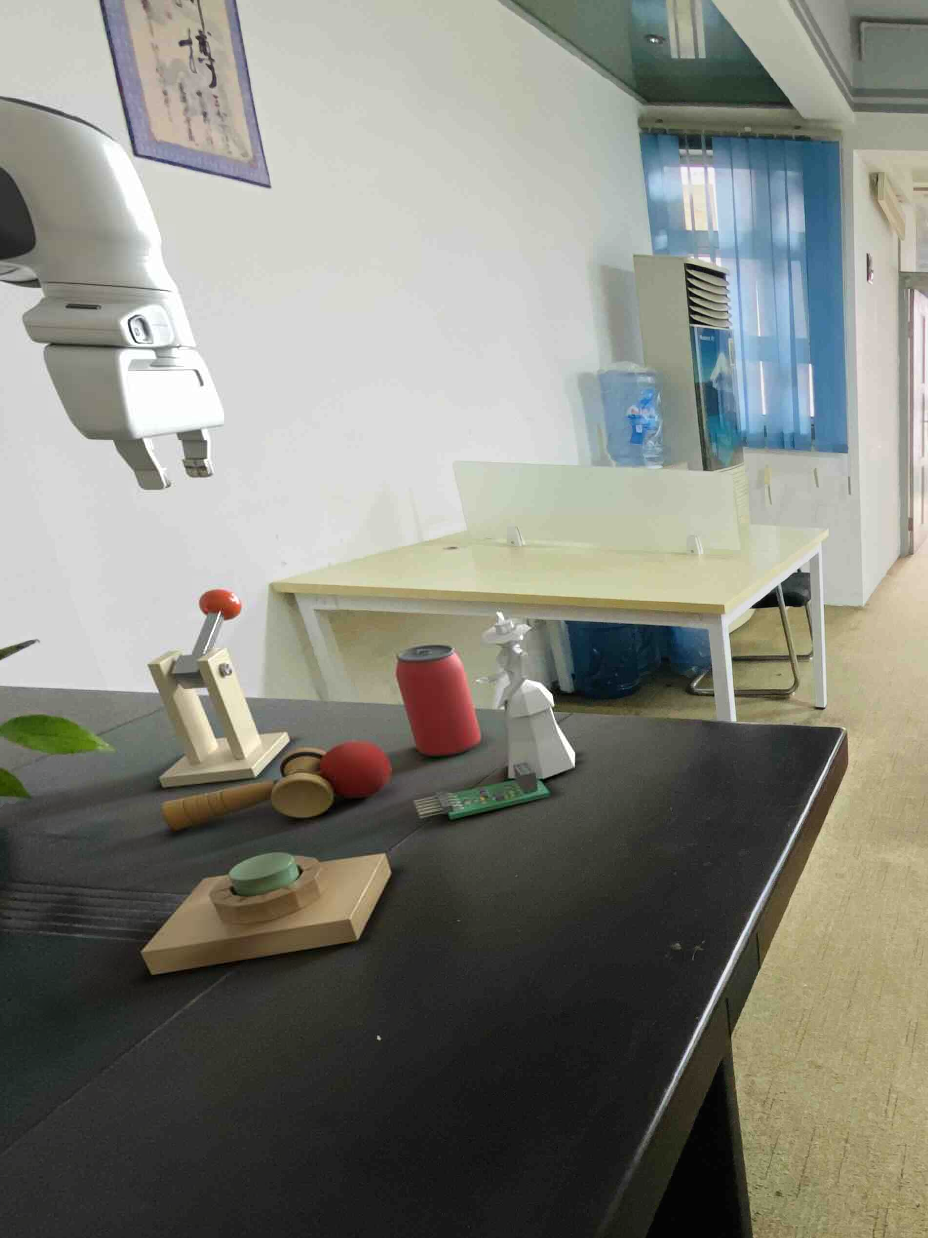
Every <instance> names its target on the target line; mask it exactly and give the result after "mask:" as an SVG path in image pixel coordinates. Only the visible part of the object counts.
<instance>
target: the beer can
mask: <svg viewBox="0 0 928 1238" xmlns="http://www.w3.org/2000/svg"><path fill="white" fill-rule="evenodd" d="M395 657H396V659H397V661H396V662H397V663H396V666H395V667H396V668H395V678H396V681H397V685H398V688H399V692H400V695H401V699H402V702H403V705H404V709H405V713H406V716H407V720H408V723H409V726H410V730H411V733H412V737H413V741H414V744H415V747H416V750H417V751H418V752H419V753H421V754H422V755H425V756H429V757H449V756H456V755H458V754H462V753H465V752H468V751H470V750H472V749H473V748H476V746H478V744H479V743H480V742H481V739H482V735H481V731H480V727H479V722H478V718H477V714H476V711H475V706H474V703H473V698H472V694H471V690H470V686H469V683H468V679H467V674H466V670H465V665H464V664H463V661H462V660H461V659H460V657H459V656H458V655H457V653H456V652H455V648H454V647H453V646H451V645H446V644H426V645H425V644H423V645H419V646H413V647H409V648H405V649H403V650H401V651H400V652H398V653H397V654H396V656H395Z"/></svg>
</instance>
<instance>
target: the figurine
mask: <svg viewBox="0 0 928 1238" xmlns="http://www.w3.org/2000/svg"><path fill="white" fill-rule="evenodd" d="M493 620H494V621H493V624H494V626H493V627H492V626H491V627H490V628H488V629H487V630H486V631H484V632H483V633H482V634H481V635H480V637H481V639H482V641H483V643H484V644H492V645H496V646H500V647H501V648H502V649H500V651H499V652H498V654H497V656H496V658H495V660H496V662H497V663H498V664H499V668H500V669H502V670H501V671H500V672H497V673H495V674H493V675H490V676H489V677H482V676H481V678H480V679H475V682H476V683H479V684H484V683H489V684H491V683H492V682H495V681H497V680H499V679H502V678H504V677H506V676H508V680H509V682H510V683H509V684H508V685H507V686H506V687H504V688H503V691H502V694H501V697H500V700H499V703H498V706H497V709H496V712H495V714H497V713H498V711H499V710H500V709H501V708H502V707H504V714H505V720H506V726H507V731H508V732H507V734H508V761H507V763H508V765H507V766H508V767H507V768H508V770H507V771H508V776H507V777H508V778H507V779H516V778H515V772H514V766H513V765H516V764H521V763H526V762H528V764H529V765H530V766H531V767H532V769H533V770H534V771H535V773H536V779H539V780H541V779H542V780H544V779H546V778H549V777H552V776H554V775H558V774H560V773H562V772H565V771H569V770H571V769H573V768H575V766H576V765H575V763H576V752H575V751H574V749H573V748H572V746H571V744H570V742H569V741H568V739H567V738H566V736H565V735H564V733H563V732H562V730H561V728H560V726H559V725H558V723H557V721H556V718H555V715H554V711H553V709H552V708H554V707H555V703H554V697H553V694H552V693H551V692H550V691H549V690H548V689H547V688H546V687H545V686H544V685H543V684H542V683H541V682H537V681H533V680H529V679H527V669H528V664H529V657H530V654H529V653H528V652H526V651H525V650H523V649H521V648H520V647H521V645H520V643H521V642H522V641H523V638H524V634H526V633H527V632H529V631H530V630H531V629H532V627H531V626H530V625H527V624H526V623H523V624H519V622H517V623H516V624H515V625H513V621H512V619H505V617H504V615H503V613H502V612H501V611H500V612H498V611H497V612H495V616H494V619H493Z"/></svg>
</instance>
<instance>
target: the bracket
mask: <svg viewBox="0 0 928 1238" xmlns="http://www.w3.org/2000/svg"><path fill="white" fill-rule="evenodd" d="M180 655H182V653H181V650H169V651H166V652H165V653H163V654H162V655H160V656H158V657H157V658H155V659H153V660H152V661H151V662H150V661H149V663H147V664H146V665H147V667H148V670H149V673H150V674H151V677H152V679H153V682H154V685H155V686H156V689H157V691H158V693H159V696H160V698H161V701H162V703H163V706H164V707H165V710H166V713H167V716H168V717H169V720H170V722H171V724H172V727H173V729H174V731H175V734H176V736H177V738H178V739H177V740H178V741H179V744H180V746H181V749H182V751H183V753H184V755H183V757H180V759H179V760H177V761H176V762H175V763H174V764H172V766H171V767H170V768H168V769H167V770H166V771H165V772H164V773H163V774H162V775H160V776H159V777H158V780H159V782H160V784H161V786H162V788H171V787H181V786H189V785H190V786H191V785H198V784H210V783H219V782H228V781H237V780H246V779H255V778H256V777H258V776H259V774H260V773H261V772H262V771H263V770H264V769H265V768H266V767H267V766H268V765H269V764H270V763H271V761H272V760H273V759H274V758H276V756H277V755H278V754H279V753H280V752H281V751H282V750H283V748H285V747H286V745H288V744H289V742H290V737H289V734H288V732H287V731H283V732H271V733H261V734H259V732H258V729H257V726H256V724H255V721H254V718H253V716H252V714H251V711H250V708H249V705H248V703H247V699H246V697H245V695H244V692H243V689H242V686H241V684H240V681H239V679H238V676H237V674H236V670H235V668H234V666H233V662H232V660H231V657H230V655H229V652H228V650H227V648H226V647H215V648H213V649H212V651H210V652H209V653H207V654H206V655H205V656H203V657H202V658H200V659H199V660H197V661H196V663H197V665H198V668H199V670H200V673H201V675H202V678H203V680H204V683H205V685H206V690H207V692H208V695H209V698H210V700H211V703H212V706H213V708H214V710H215V713H216V716H217V718H218V721H219V723H220V726H221V728H222V731H223V733H224V736H225V737H219V738H216V737H215V734H214V732H213V729H212V727H211V725H210V722H209V719H208V716H207V715H206V711H205V709H204V707H203V705H202V703H201V700H200V697H199V695H198V692H197V690H196V689H197V688H194V689H183V688H182V686H181V685H180V684H179V683H178V681H177V680H176V679H175V678H174V676H173V675H172V674H171V673H172V671H173V668H174V666H175V664H176V661H177V659H178V657H179V656H180Z"/></svg>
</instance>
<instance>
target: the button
mask: <svg viewBox="0 0 928 1238" xmlns="http://www.w3.org/2000/svg"><path fill="white" fill-rule="evenodd" d="M293 856H294V855H293V854H290V853H288V852H268V853H264V854H263V853H262V854H259V855H256V856H252V857H250V858H248V859H245V860H243V861H241V862H239V863H238V864H236V865H235V866H233V867H232V868H231V869H230V870H229V872H228V875H229V877H230V880H231V882H232V884H233V887H234V889H235V892H236V894H237V895H238V896H243V897H250V896H256V895H263V894H267V893H270V892H273V891H275V890H278V889H281V888H284V887H286V886H288V885H289V884H291V883H293V882H294V881H296V880H298V879H299V876H300V874H299V871H298V868H297V866H296V863H295V861H294V858H293Z"/></svg>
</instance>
